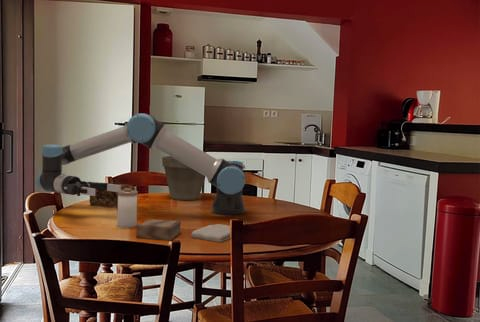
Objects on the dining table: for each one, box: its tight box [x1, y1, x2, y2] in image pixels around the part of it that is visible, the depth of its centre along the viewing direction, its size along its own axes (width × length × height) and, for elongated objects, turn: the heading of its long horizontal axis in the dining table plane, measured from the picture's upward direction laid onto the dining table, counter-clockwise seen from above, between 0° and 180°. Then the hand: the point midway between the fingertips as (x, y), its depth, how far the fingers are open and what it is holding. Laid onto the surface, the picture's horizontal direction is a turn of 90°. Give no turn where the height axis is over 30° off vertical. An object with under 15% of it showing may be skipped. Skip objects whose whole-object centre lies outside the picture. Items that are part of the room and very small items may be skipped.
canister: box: [116, 188, 139, 229], centre depth 177 cm, size 7×7×14 cm
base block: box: [136, 218, 181, 241], centre depth 165 cm, size 12×12×4 cm
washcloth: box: [191, 223, 231, 243], centre depth 168 cm, size 12×18×3 cm, turn 153°
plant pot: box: [161, 155, 207, 201], centre depth 247 cm, size 25×25×22 cm
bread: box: [89, 183, 136, 208], centre depth 219 cm, size 19×11×10 cm, turn 81°
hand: (107, 190), depth 181 cm, fingers open, 13 cm apart
